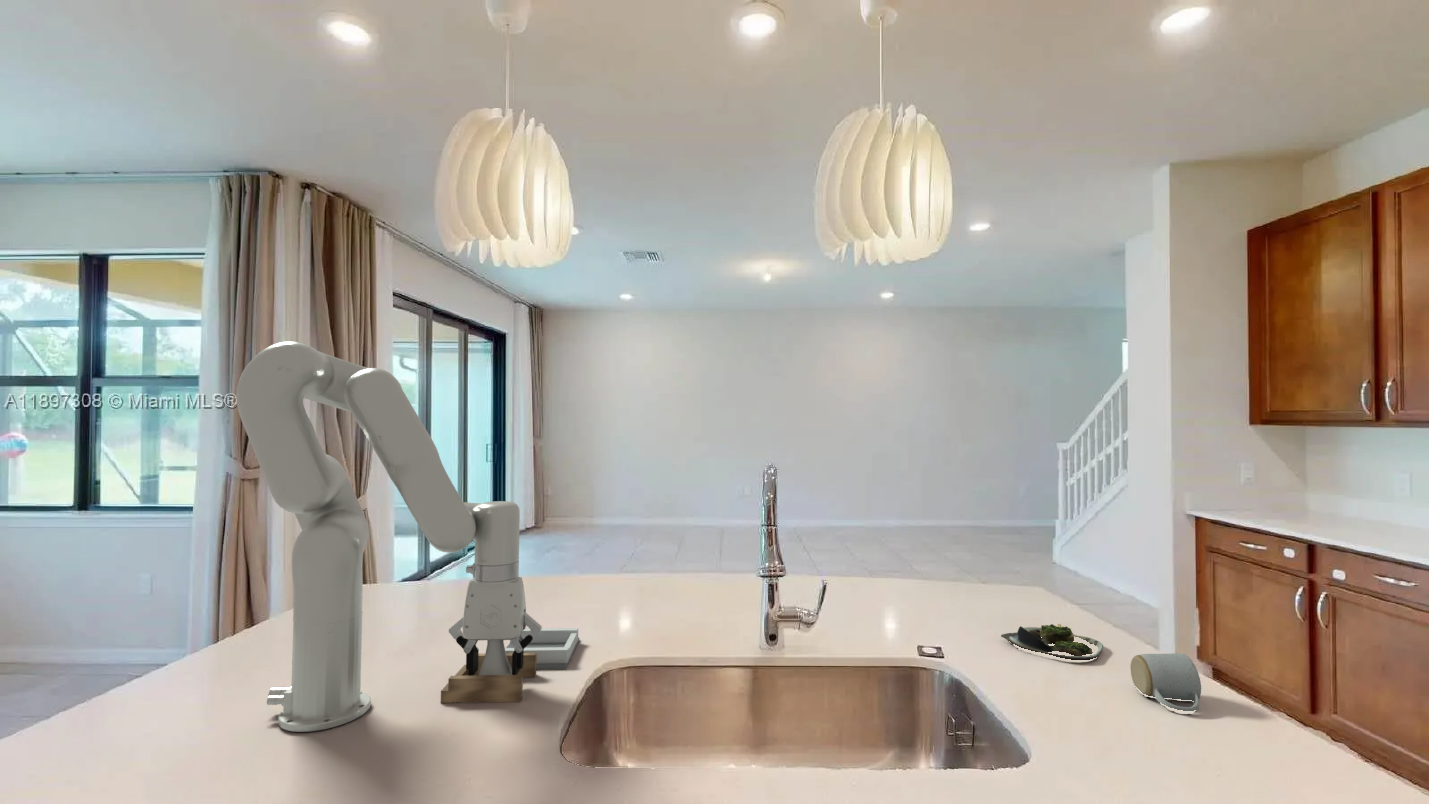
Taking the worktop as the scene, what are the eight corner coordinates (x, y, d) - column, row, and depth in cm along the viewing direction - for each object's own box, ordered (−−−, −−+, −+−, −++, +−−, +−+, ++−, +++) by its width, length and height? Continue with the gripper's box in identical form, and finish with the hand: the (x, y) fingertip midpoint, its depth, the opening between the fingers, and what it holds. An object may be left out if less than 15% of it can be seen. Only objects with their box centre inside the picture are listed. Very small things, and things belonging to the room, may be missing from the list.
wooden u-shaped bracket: (440, 703, 104) (441, 678, 104) (464, 675, 116) (464, 653, 116) (520, 701, 105) (521, 677, 105) (536, 674, 116) (536, 652, 116)
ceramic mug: (1127, 687, 112) (1127, 644, 113) (1177, 690, 111) (1177, 647, 111) (1159, 715, 102) (1158, 668, 102) (1215, 719, 101) (1214, 671, 101)
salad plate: (1026, 626, 147) (1026, 607, 147) (1114, 646, 134) (1113, 624, 135) (994, 647, 133) (994, 625, 133) (1089, 671, 121) (1089, 647, 121)
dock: (491, 670, 118) (491, 653, 118) (513, 640, 134) (513, 626, 134) (565, 669, 119) (565, 652, 119) (579, 640, 135) (579, 625, 135)
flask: (502, 699, 106) (503, 639, 106) (464, 695, 108) (465, 636, 108) (523, 682, 113) (524, 626, 114) (487, 678, 115) (488, 623, 115)
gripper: (438, 577, 107) (436, 682, 106) (541, 576, 108) (539, 681, 107) (454, 567, 114) (452, 665, 114) (550, 566, 115) (548, 664, 115)
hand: (494, 672), depth 110 cm, fingers open, 6 cm apart
